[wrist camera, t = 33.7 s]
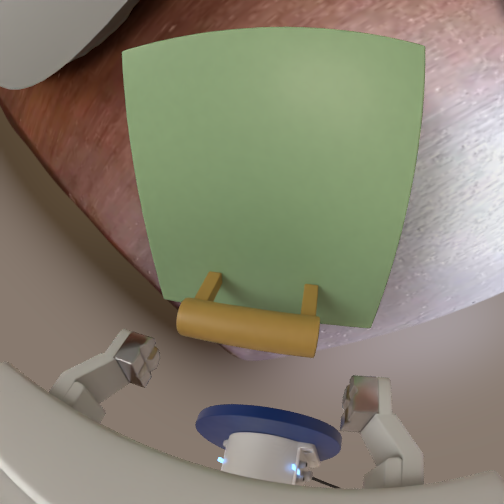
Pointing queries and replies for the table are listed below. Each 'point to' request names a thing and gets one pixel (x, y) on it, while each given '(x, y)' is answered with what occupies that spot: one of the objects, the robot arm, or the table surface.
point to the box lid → (274, 176)
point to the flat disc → (52, 35)
